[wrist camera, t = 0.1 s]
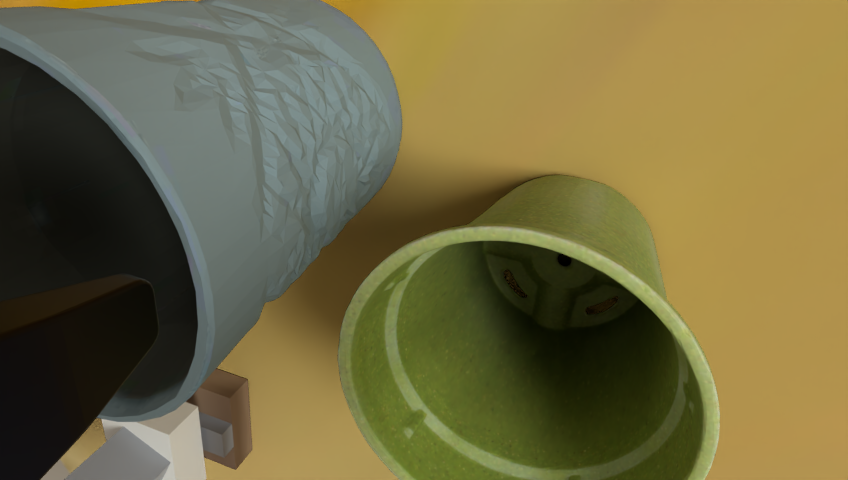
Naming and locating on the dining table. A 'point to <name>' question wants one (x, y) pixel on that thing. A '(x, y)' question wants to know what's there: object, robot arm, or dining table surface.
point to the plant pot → (530, 349)
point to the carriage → (149, 449)
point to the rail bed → (224, 418)
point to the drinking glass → (186, 162)
